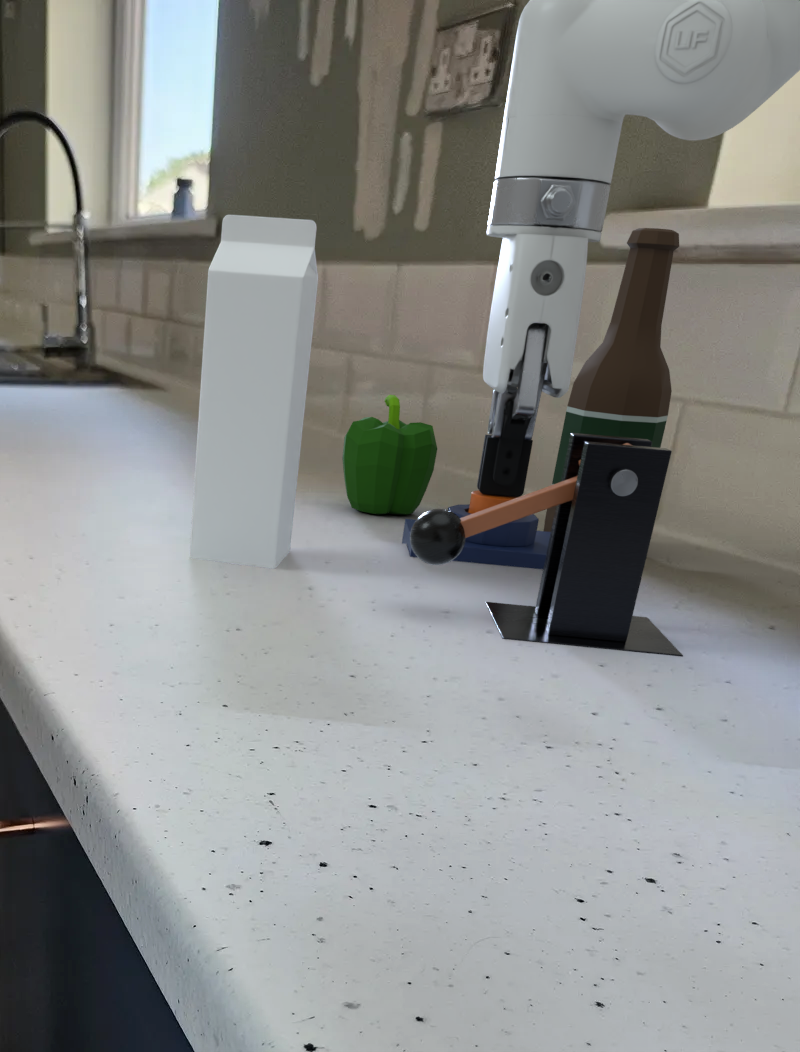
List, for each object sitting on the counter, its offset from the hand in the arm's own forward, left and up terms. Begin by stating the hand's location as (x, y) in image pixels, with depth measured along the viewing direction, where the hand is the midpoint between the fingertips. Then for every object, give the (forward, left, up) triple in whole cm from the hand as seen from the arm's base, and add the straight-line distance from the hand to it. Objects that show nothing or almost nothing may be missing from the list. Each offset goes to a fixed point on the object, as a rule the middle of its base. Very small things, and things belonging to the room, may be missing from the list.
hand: (499, 493), depth 83 cm
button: (0, 0, -2) cm, 2 cm away
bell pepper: (+7, -19, -6) cm, 21 cm away
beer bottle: (-10, -11, -6) cm, 16 cm away
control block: (0, 0, -6) cm, 6 cm away
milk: (+18, +9, -6) cm, 21 cm away
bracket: (-3, +20, -6) cm, 21 cm away
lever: (+1, +20, +1) cm, 20 cm away
